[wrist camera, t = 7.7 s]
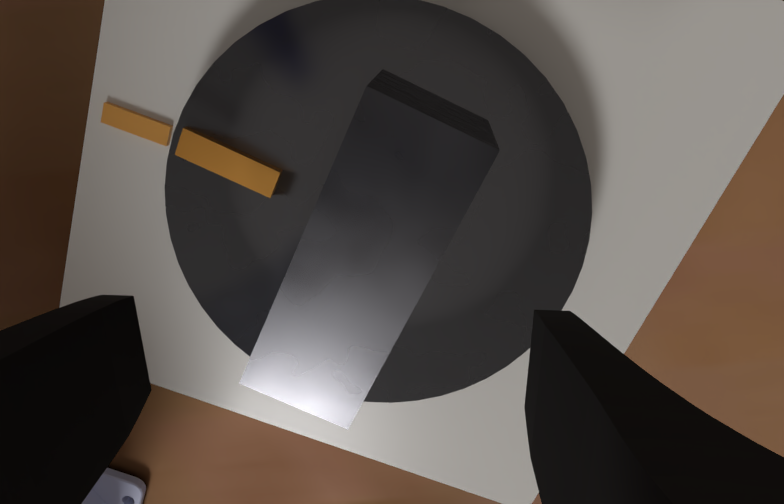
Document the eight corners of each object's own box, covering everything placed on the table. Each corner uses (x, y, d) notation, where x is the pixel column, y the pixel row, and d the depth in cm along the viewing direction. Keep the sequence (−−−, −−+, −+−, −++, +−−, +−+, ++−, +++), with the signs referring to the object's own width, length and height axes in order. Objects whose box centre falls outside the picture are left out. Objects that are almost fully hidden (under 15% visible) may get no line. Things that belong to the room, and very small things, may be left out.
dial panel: (521, 482, 23) (527, 516, 22) (77, 328, 22) (49, 352, 21) (796, 18, 16) (834, 19, 15) (171, -237, 15) (139, -264, 14)
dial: (670, 118, 16) (750, 157, 12) (463, 435, 20) (468, 544, 16) (256, -91, 15) (183, -128, 11) (135, 294, 19) (50, 372, 15)
